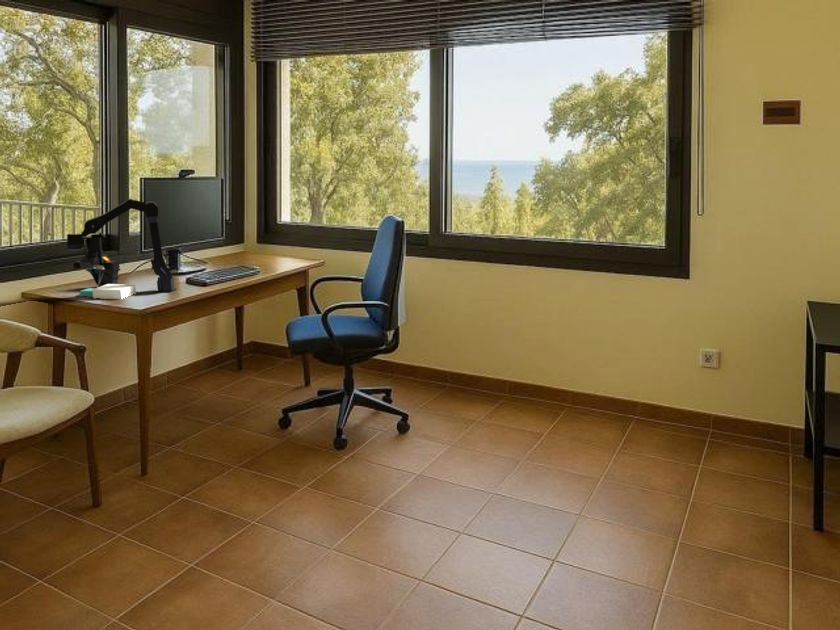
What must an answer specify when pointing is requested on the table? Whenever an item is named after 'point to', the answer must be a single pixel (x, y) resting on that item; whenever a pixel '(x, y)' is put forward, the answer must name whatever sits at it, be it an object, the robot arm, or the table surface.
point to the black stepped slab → (109, 274)
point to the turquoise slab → (87, 292)
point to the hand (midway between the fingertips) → (98, 284)
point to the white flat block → (114, 291)
